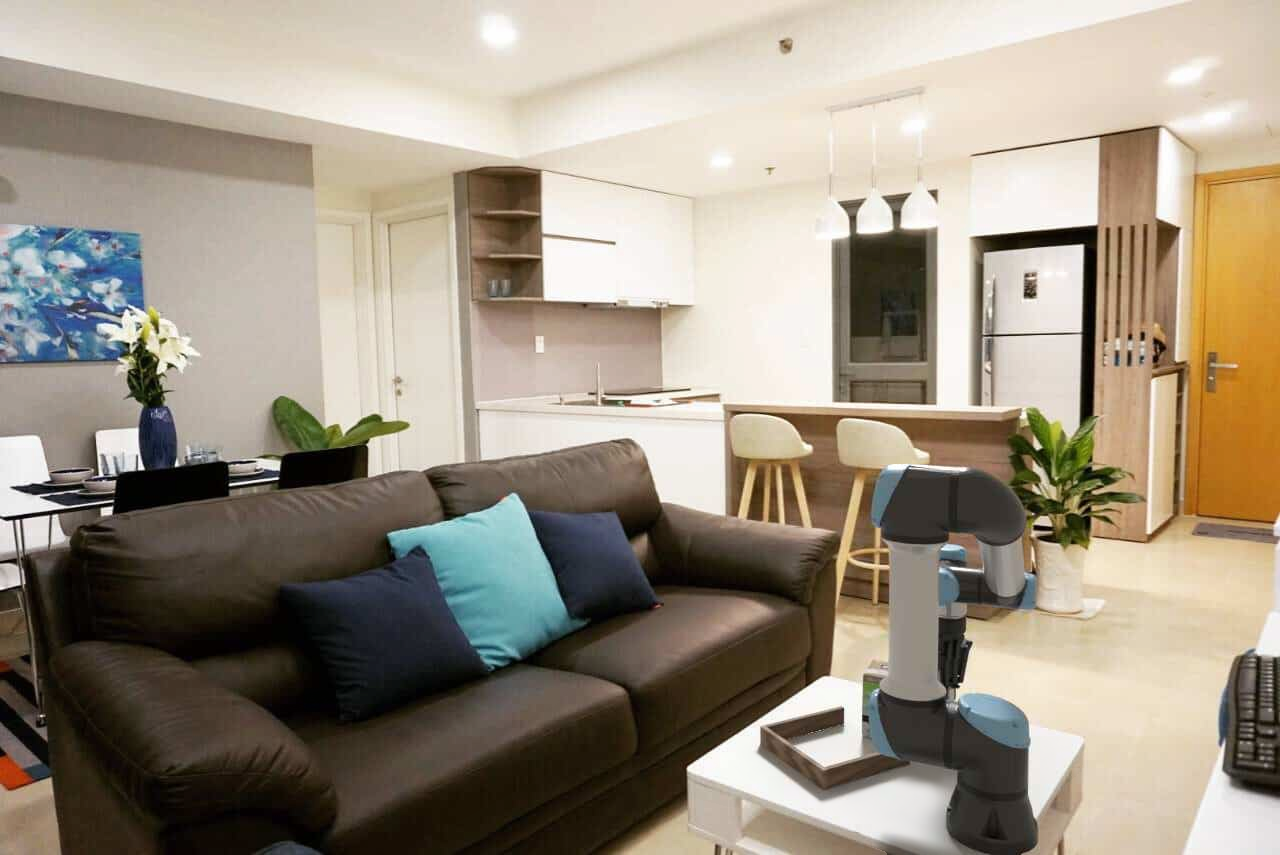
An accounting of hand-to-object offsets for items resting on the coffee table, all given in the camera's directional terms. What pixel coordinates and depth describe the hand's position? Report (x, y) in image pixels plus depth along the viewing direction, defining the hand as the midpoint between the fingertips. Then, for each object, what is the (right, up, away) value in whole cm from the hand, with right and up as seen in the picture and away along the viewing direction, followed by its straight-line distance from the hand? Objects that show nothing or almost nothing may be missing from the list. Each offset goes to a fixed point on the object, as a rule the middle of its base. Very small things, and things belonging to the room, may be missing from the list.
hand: (947, 714), depth 196 cm
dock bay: (-29, -4, -14) cm, 32 cm away
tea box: (-12, -3, -6) cm, 14 cm away
